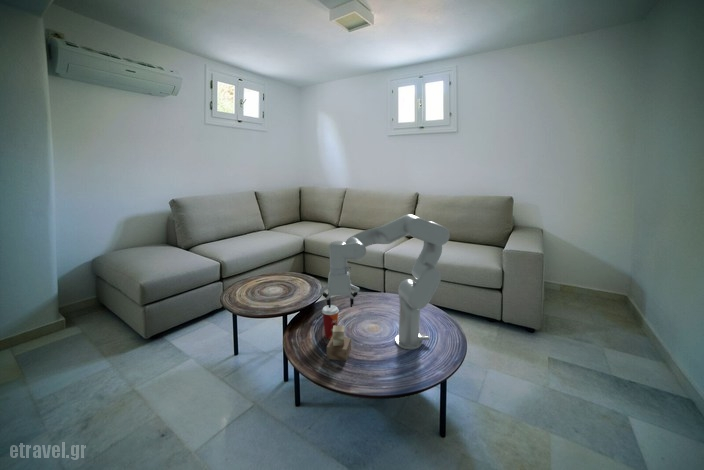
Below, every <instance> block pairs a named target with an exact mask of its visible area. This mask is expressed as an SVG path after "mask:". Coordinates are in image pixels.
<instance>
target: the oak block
mask: <svg viewBox="0 0 704 470" xmlns="http://www.w3.org/2000/svg"><path fill="white" fill-rule="evenodd" d="M345 331H346V330H345V325H337V326H333V346H344V342H345V337H346V336H345V333H346V332H345Z"/></svg>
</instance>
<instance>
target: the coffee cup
mask: <svg viewBox="0 0 704 470" xmlns="http://www.w3.org/2000/svg"><path fill="white" fill-rule="evenodd" d="M321 312H322V317H323V318H322V319H323V328H324V335H325V338H327V339H331V337H332V336H333V326H339V325H338V324H339V323H338V322H339V308H338V306H336V305H333V304H331V306H330V308H329V305H327V304H326V305H325V306H323V307H322V310H321Z"/></svg>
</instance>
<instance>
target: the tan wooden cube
mask: <svg viewBox="0 0 704 470" xmlns="http://www.w3.org/2000/svg"><path fill="white" fill-rule="evenodd" d="M351 351H352V338H351V337H346V336H345V342H344V346H333V336H332V337H331V339H330V340H329V341H328V344H327V345H326V359H327V360H335V361H341V362H347V361H348V358H349V356H350V353H351Z"/></svg>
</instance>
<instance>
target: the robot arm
mask: <svg viewBox="0 0 704 470" xmlns="http://www.w3.org/2000/svg"><path fill="white" fill-rule="evenodd" d="M407 236H410V237H412V238H414V239H417V240H419V241H421V242H422V241H423V246H422V249H421V252H420V253H419V255H418V257H417V259H416V260H415V263H414V264H413V266H412V268H411V274H412V276H413V277H414V278H415V280H417V281H415V280H414V279H411V278H406V279H403V280H402V281H401V282H400V284H399V285H398V302H399V313H398V314H399V315H398V316H399V317H398V335H396V337H395V338H394V340H395V341H394V342H395V344H396V346H398V347H399V348H401V349H403V350H410V351H411V350H417V349H419V348H420V347H421V346H422V345H423V341H430V337H429V336H426V334H425V333H420V320H421V319H420V317H421V310H423V309H424V308H426V307H427V306H428V304H429V303H430V301H431V300H432V299H433V296H434V294H435V293H436V292H437V290H438V287H439V286H440V284H441V280H442V273H441V272H440V270H439V269H438V267H436V266H437V264H438V262H439V260H440V258H441V255H442V253H443V245H445V244H447V243H448V242H449V240H450V237H451V232H450V231H449V229H448V228H447V227H445V226H444V225H442V224H439V223H437V222H434V221H429V220H427V219H424V218H422V217H419V216H417V215H414V214H411V213H409V214H404V215H402V216H401V217H398V218H396V219H395V220H392V221H389V222H386V223H385V224H383V225H381V226H377V227H373V228H369V229H365V230H362V231H360V232H358V233H356V234H354V235H351V236H350V237H348V238H347V239H346V241H343V240H342V241H341V240H340V241H339V240H337V241H332V242H330V243H329V247H328V248H329V249H328V251H329V252H328V253H329V272H328V278H327V285H326V286H324V287H322V288H320V289H319V291H320V294H321V295H322V297H324V298H325V299H326V306H327V305H329V308H330V306H331V305H332V303H331V302H332V301H331V297H337V296H348V297H349V299H350V301H349V303H350V305H349V306H350V308H353V305H354V303H355V302H354V299H355V298H356V296H357V295H358V294H359V293H360V287H358V286H356V285H354V284H352V278H351V272H350V271H351V270H352V267H351V266H348V264H349V263H348V260H356V261H358V260H362V259H364V258H365V256H366V255H367V247H370V246H372V245H390V244H393V243H394V242H398V240H401V239H403V238H406V237H407ZM352 289H353V290H355V291H354V292H352ZM325 291H328V292H327V293H326V292H325Z"/></svg>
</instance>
